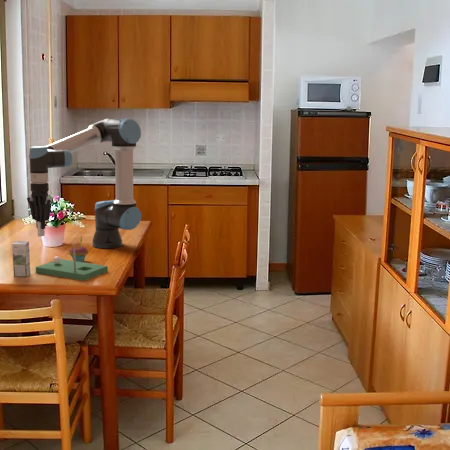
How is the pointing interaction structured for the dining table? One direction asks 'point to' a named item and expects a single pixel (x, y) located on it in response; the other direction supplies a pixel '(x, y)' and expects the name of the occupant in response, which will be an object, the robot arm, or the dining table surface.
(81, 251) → the cupcake
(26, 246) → the syrup box
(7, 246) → the dining table surface
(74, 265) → the putting mat
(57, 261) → the ball
